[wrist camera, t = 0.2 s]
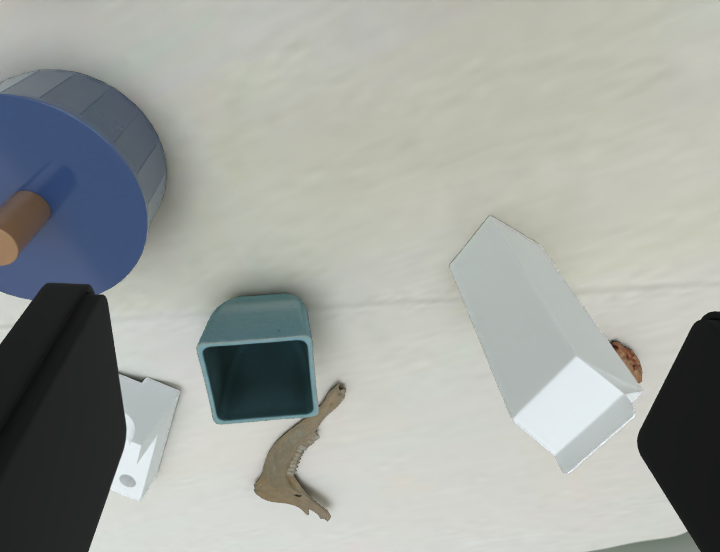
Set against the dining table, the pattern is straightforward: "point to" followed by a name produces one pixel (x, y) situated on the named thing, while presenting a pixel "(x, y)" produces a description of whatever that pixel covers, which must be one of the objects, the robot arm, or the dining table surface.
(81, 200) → the lid
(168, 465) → the dining table surface
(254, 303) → the flower pot
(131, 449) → the bracket
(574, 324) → the milk
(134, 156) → the crock
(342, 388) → the jawbone
